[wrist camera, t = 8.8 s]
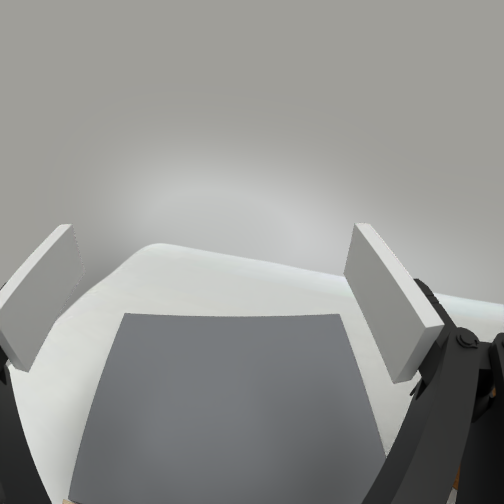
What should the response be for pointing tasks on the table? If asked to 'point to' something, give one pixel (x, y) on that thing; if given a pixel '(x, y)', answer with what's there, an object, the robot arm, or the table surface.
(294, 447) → the rubber mat
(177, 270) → the table surface
